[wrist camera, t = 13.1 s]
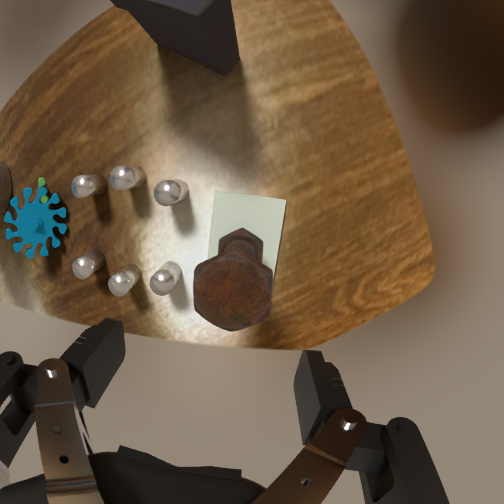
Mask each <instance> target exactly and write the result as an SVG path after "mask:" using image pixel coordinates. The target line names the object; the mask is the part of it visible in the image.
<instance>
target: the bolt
mask: <svg viewBox="0 0 504 504" xmlns="http://www.w3.org/2000/svg"><path fill="white" fill-rule="evenodd" d="M262 258H263V241H262V240H261V239H260V238H259V237H257V236H256V235H254V234H253V233H251V232H250V231H248V230H246V229H244V228H243V227H242V228H240V229H237V230H235V231H233V232H231V233H229V234H227V235H225V236H223V237H222V238H220V239H219V244H218V255H216V256H214V257H212V258H210V259H208V260H206V261H204V262H202V263H200V264H198V265H197V266H196V268H195V270H194V280H193V296H194V308H195V311H196V312H197V313H198V314H200V315H201V316H202V317H203V318H204V319H206V320H207V321H209V322H210V323H212V324H213V325H215V326H217V327H219V328H222V329H224V330H227V331H231V332H232V331H238V330H242V329H245V328H247V327H250V326H253V325H255V324H257V323H258V322H260V321H262V320H263V319H265V318H267V317H268V316H269V314H270V308H271V299H272V288H273V271H272V269H270V268H269V267H267V266H266V265H264V264H263V263H262Z"/></svg>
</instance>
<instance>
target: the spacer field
mask: <svg viewBox="0 0 504 504" xmlns="http://www.w3.org/2000/svg"><path fill="white" fill-rule="evenodd" d="M145 180H146V173H145V171H144V169H143V168H141V167H139V166H117V167H115V168H114V169H113V170H112V172H111V174H110V183H111V185H112V187H113V188H114V189H116V190H124V189H130V188H137V187H140V186H142V185H143V184H144V182H145ZM106 187H107V180H106V178H105V177H104V176H103V175H101V174H95V175H79V176H77V177H75V178H74V180H73V182H72V186H71V188H72V192H73V194H74V196H75V197H77V198H82V197H87V196H93V195H98V194H102V193H103V192H104V191H105V190H106ZM187 195H188V186H187V184H186V183H185V182H184V181H182V180H179V179H176V180H165V181H161V182H159V183H158V184H157V185H156V187H155V189H154V197H155V200H156V201H157V202H158V203H159V204H160V205H163V206H169V205H171V204H174V203H177V202H179V201H182V200H184V199H185V198H186V197H187ZM104 264H105V256H104V254H103V253H102V252H101V251H100V250H97V249H95V250H93V251H91V252H89V253H87V254H85V255H84V256H82V257H80V258H78V259H76V260H75V261H74V262H73V265H72V269H73V272H74V274H75V275H76V277H78V278H79V279H85V278H87V277H88V276H90V275H91V274H93V273H94V272H95V271H97V270H98V269H100V268H101V267H103V266H104ZM181 273H182V271H181V268H180V266H179V265H178V264H177V263H175V262H172V261H169V262H166V263H165V264H164V265H163V266H162V267H161V268H160V269H159V270H158V271H157V272H156V273H155V274H154V275H153V276H152V277H151V279H150V287H151V289H152V291H153V292H154V293H156V294H157V295H161V296H164V295H167V294H168V293H169V292H170V291H171V290H172V288H173V287H174V285H175V284H176V282H177V281H178V280H179V278H180V277H181ZM140 278H141V272H140V270H139V268H138V267H137V266H136V265H134V264H128V265H126V266H125V267H124V268H123V269H121V270H120V271H119V272H117V273H116V274H115V275H114V276H112V277H111V278H110V279H109V282H108V286H109V289H110V291H111V292H112V293H113V294H114V295H116V296H119V297H121V296H124V295H125V294H126V293H127V292H128V291H129V290H130V289H131V288H132V287H133V286H134V285H135V284H136V283H137V282H138V281H139V280H140Z"/></svg>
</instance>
